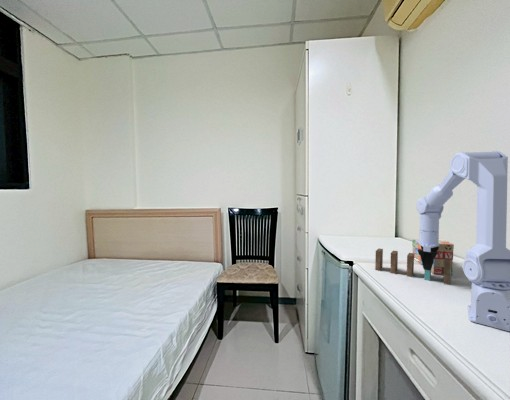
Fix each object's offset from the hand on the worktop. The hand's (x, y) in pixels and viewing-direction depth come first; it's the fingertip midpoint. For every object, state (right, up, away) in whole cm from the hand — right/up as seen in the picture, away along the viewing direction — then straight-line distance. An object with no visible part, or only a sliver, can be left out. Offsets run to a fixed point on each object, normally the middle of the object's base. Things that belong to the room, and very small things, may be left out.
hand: (428, 267), depth 87 cm
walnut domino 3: (-4, -4, +4) cm, 7 cm away
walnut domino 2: (-8, -4, +7) cm, 12 cm away
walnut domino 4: (+4, -4, -3) cm, 7 cm away
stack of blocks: (+11, -4, +13) cm, 17 cm away
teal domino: (0, -4, 0) cm, 4 cm away
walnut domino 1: (-13, -4, +11) cm, 17 cm away
